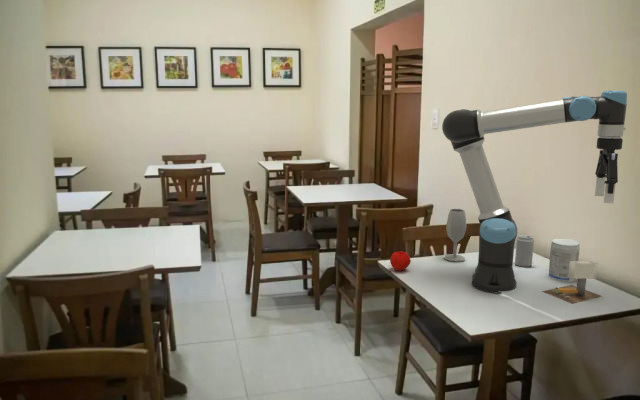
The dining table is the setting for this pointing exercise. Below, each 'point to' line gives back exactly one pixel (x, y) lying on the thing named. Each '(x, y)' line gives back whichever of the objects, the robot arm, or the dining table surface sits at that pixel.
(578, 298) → the base
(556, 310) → the dining table surface
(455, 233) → the wineglass
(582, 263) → the beige block on post
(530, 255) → the beverage can
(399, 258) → the apple
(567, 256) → the supplement tub
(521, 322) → the dining table surface
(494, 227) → the robot arm
